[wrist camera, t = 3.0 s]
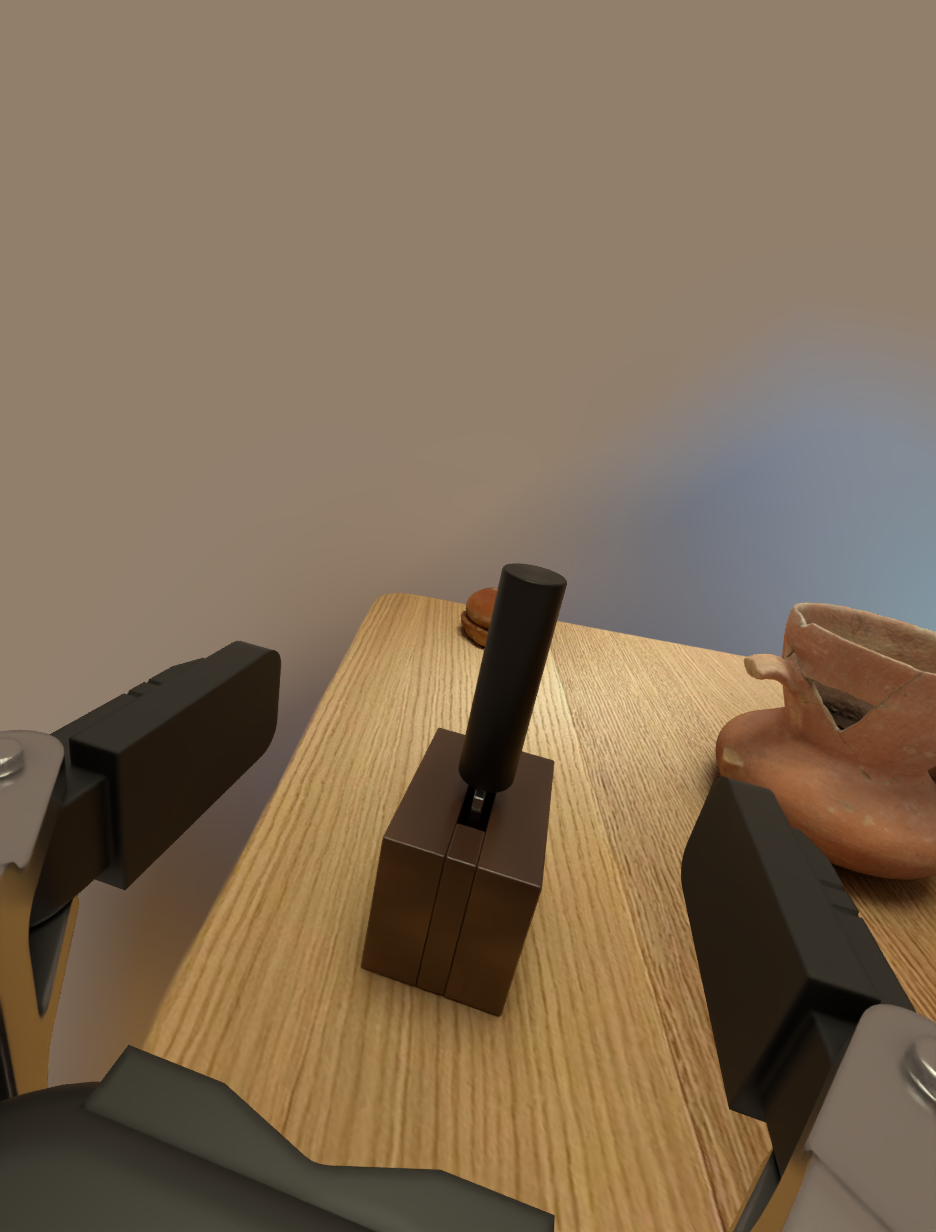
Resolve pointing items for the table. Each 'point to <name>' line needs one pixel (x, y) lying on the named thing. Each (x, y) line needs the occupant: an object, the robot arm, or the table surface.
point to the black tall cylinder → (509, 678)
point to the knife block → (459, 879)
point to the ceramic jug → (847, 738)
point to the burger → (479, 614)
